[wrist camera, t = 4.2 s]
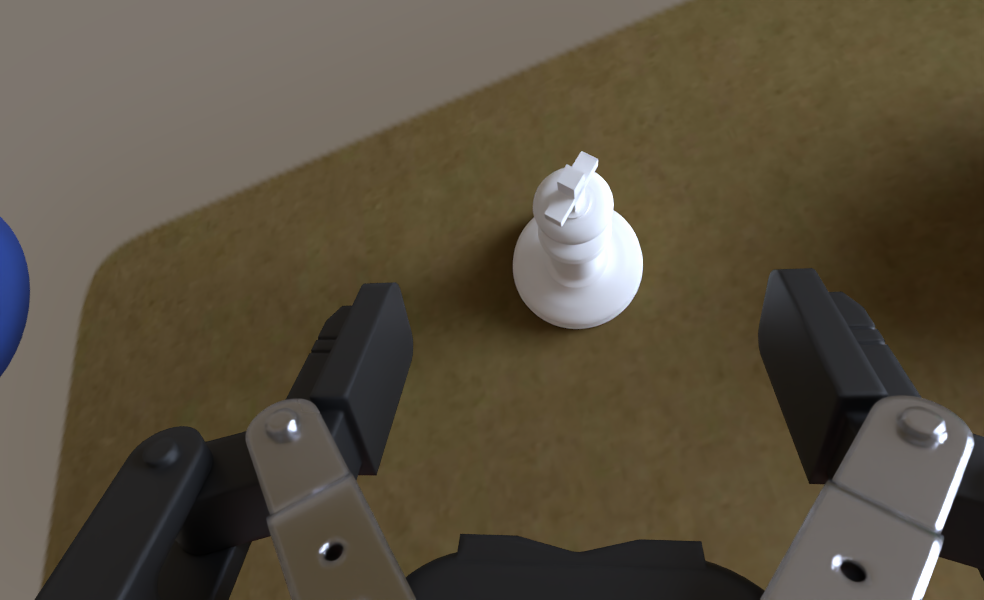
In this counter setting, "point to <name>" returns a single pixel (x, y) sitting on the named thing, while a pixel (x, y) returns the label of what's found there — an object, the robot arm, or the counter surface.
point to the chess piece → (577, 251)
